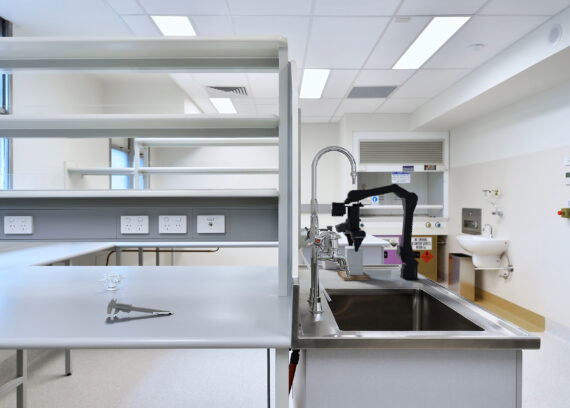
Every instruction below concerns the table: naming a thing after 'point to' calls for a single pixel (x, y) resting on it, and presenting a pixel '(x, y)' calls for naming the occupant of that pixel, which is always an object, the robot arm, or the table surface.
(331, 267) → the soap dispenser
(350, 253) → the supplement box
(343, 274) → the walnut coaster
